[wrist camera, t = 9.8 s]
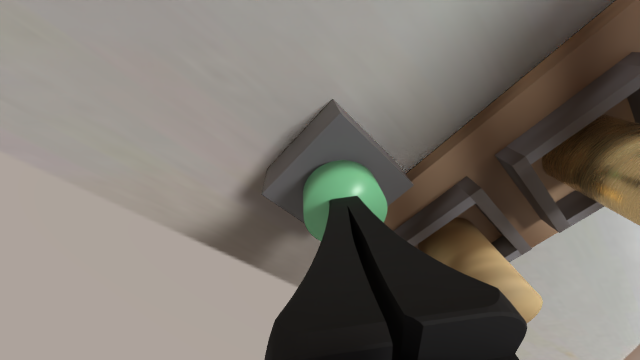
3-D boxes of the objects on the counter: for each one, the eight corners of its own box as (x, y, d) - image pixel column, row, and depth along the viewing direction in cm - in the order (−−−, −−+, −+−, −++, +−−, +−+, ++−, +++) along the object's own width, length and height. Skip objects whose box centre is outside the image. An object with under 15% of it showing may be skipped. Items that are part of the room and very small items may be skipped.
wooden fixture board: (619, -3, 13) (912, -40, 7) (663, 152, 18) (852, 212, 12) (340, 228, 19) (360, 317, 13) (432, 293, 24) (477, 379, 18)
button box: (332, 98, 14) (340, 112, 12) (395, 161, 16) (414, 185, 14) (267, 169, 16) (261, 194, 13) (332, 216, 18) (338, 245, 16)
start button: (341, 144, 12) (347, 160, 10) (391, 190, 13) (404, 210, 12) (287, 197, 13) (285, 218, 12) (339, 233, 15) (344, 256, 13)
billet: (611, 98, 14) (789, 133, 9) (618, 152, 16) (767, 206, 11) (535, 143, 15) (654, 197, 10) (549, 189, 17) (656, 254, 12)
